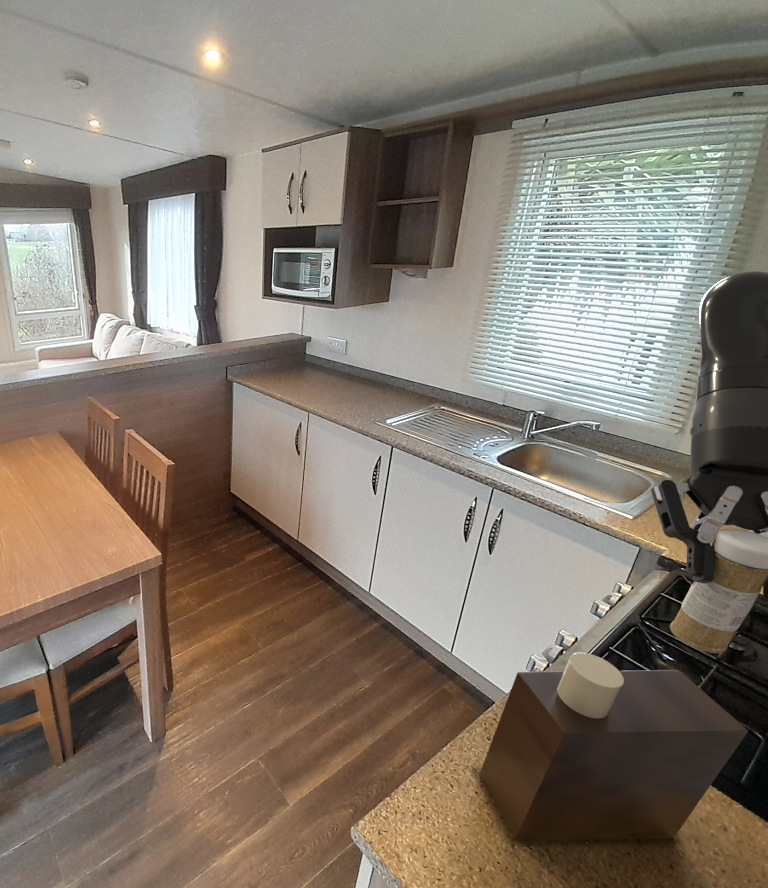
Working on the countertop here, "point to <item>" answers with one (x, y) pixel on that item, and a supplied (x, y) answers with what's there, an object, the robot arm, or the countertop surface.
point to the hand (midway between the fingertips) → (738, 589)
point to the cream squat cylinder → (590, 685)
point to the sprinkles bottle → (724, 592)
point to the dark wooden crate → (606, 758)
